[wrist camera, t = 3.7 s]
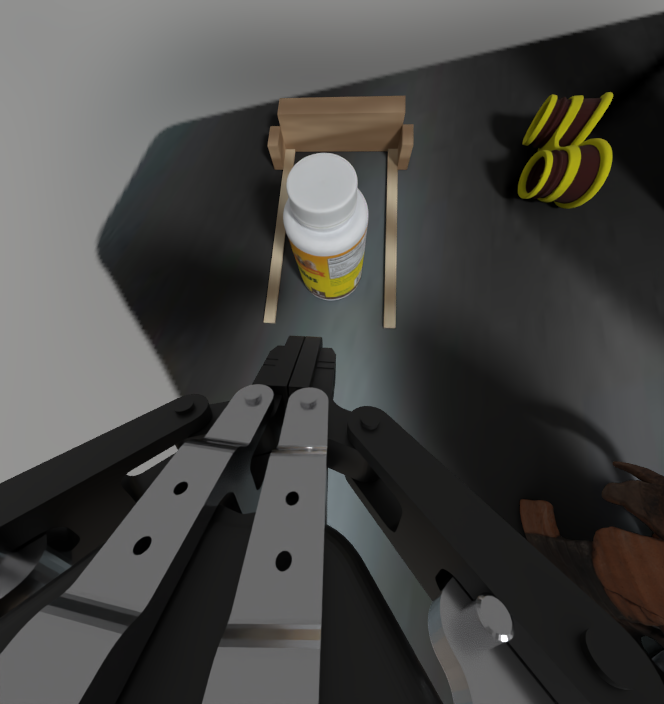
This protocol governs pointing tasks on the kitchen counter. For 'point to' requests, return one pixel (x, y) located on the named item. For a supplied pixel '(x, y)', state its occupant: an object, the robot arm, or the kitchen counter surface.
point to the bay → (387, 251)
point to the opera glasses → (566, 152)
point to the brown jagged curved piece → (614, 555)
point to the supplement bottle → (326, 224)
